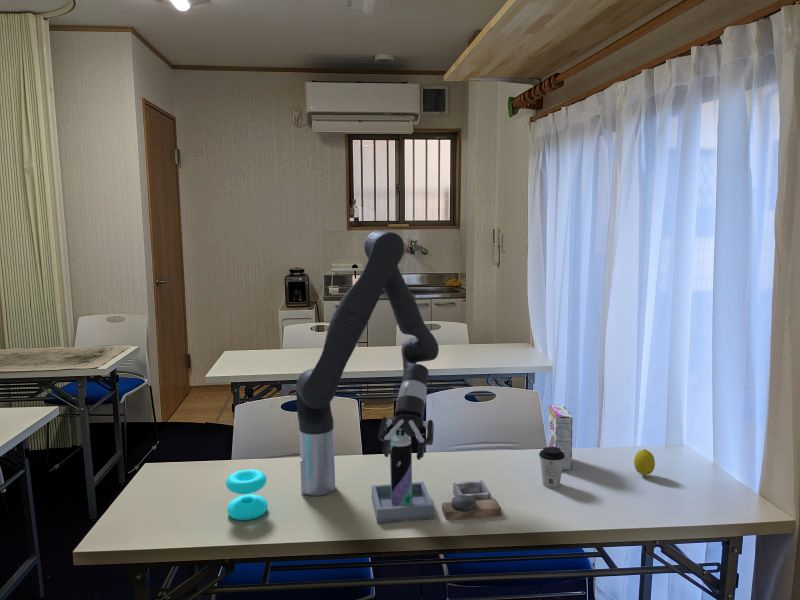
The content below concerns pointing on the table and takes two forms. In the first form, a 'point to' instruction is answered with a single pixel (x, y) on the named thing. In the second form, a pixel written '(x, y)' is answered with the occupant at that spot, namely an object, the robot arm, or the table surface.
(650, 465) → the lemon
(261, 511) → the donuts
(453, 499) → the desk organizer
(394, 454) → the spray can
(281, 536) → the table surface
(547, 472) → the coffee cup
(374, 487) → the tray
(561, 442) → the candy bar box
